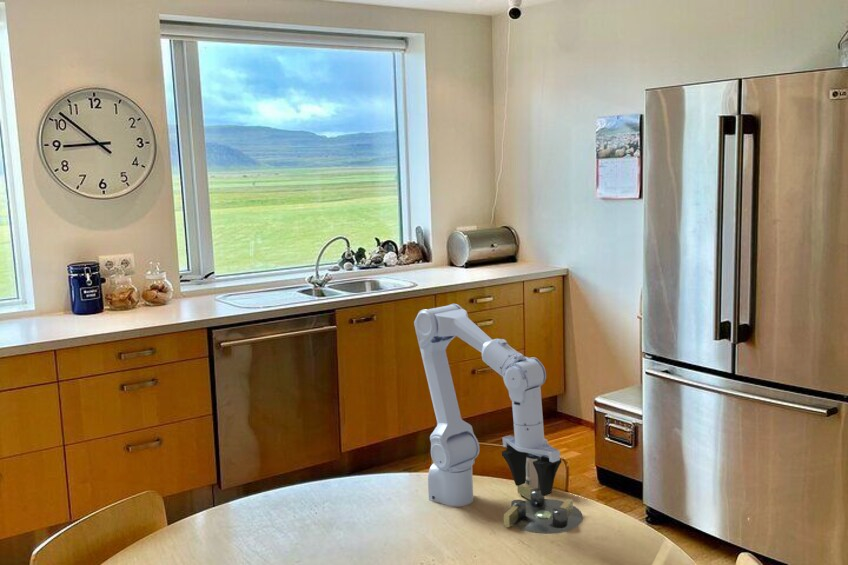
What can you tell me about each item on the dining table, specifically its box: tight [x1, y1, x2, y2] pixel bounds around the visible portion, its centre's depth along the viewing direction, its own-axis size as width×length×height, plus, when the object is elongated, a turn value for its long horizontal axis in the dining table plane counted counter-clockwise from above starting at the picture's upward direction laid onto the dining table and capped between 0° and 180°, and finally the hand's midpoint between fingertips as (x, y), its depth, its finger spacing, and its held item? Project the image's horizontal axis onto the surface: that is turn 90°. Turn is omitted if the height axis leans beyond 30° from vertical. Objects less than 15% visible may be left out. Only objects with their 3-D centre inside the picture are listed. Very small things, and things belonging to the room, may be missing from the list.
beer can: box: [525, 453, 541, 489], centre depth 171 cm, size 5×5×12 cm
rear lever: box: [516, 483, 546, 507], centre depth 166 cm, size 8×3×3 cm, turn 30°
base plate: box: [504, 498, 584, 535], centre depth 159 cm, size 16×16×2 cm
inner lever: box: [503, 499, 526, 528], centre depth 156 cm, size 8×3×3 cm, turn 150°
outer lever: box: [552, 498, 574, 527], centre depth 156 cm, size 8×3×3 cm, turn 150°
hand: (533, 489), depth 150 cm, fingers open, 7 cm apart
